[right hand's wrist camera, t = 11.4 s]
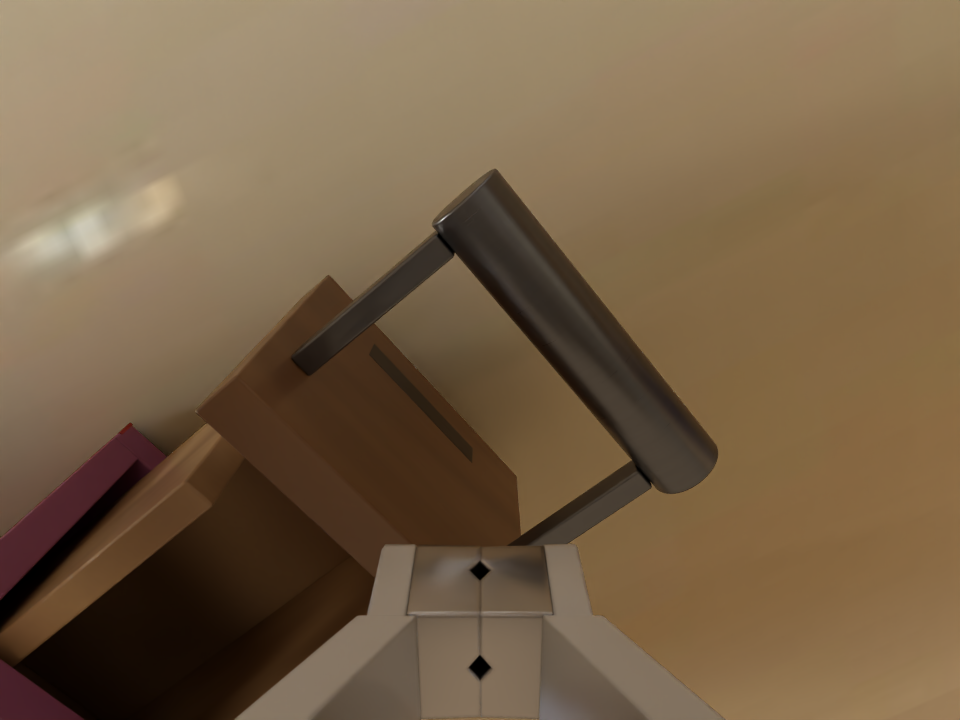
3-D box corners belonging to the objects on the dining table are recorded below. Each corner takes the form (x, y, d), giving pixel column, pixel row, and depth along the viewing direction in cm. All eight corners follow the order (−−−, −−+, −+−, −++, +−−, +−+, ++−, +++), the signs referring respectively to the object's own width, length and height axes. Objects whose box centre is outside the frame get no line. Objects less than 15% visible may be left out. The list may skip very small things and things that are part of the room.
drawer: (484, 138, 18) (481, 161, 11) (667, 369, 21) (764, 514, 13) (-39, 596, 24) (-268, 810, 17) (150, 735, 27) (22, 976, 19)
